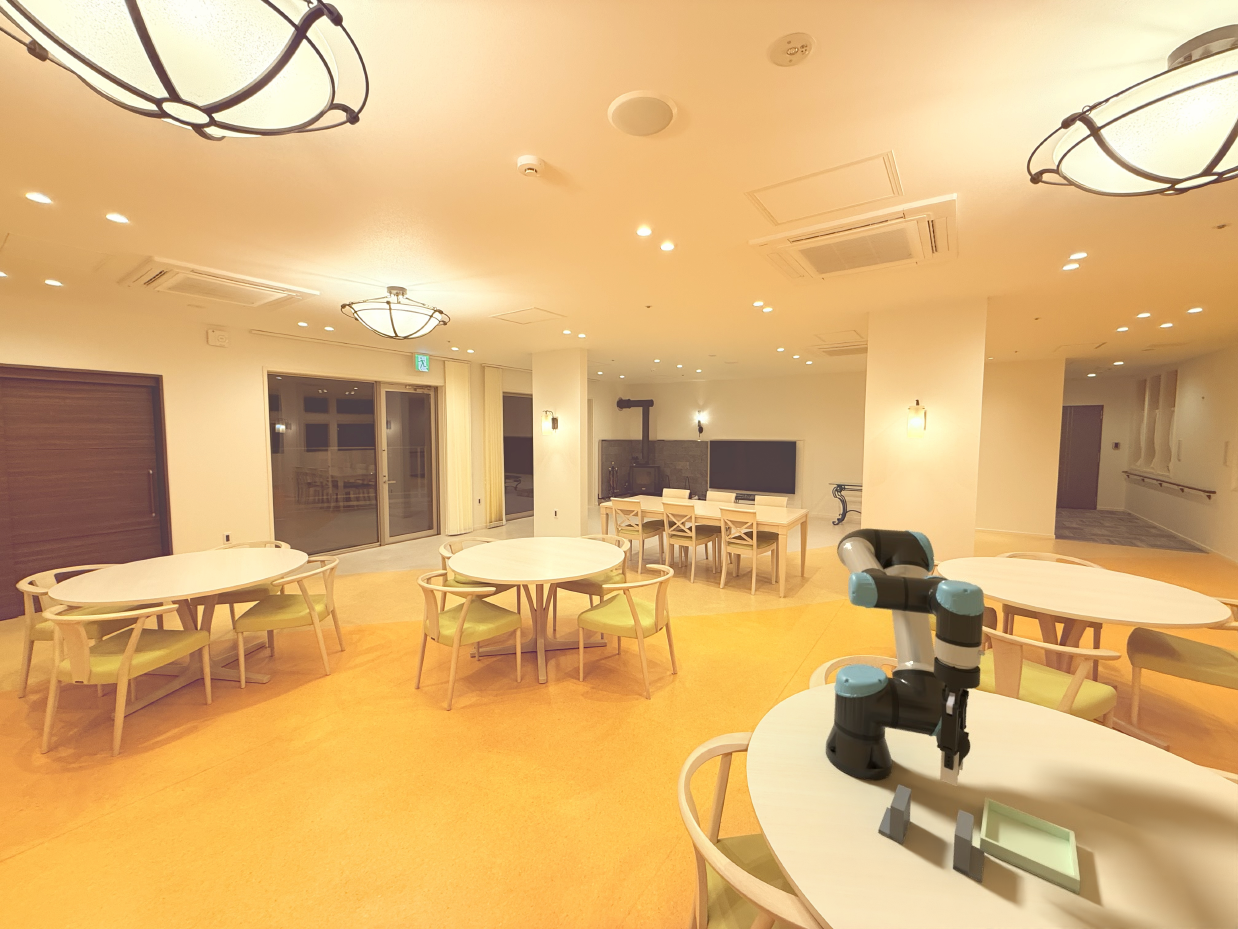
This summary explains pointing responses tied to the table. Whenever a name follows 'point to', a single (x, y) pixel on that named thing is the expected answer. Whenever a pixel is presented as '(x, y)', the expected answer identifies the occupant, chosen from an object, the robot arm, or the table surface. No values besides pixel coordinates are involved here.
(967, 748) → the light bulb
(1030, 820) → the tray
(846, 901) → the table surface
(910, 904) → the table surface
